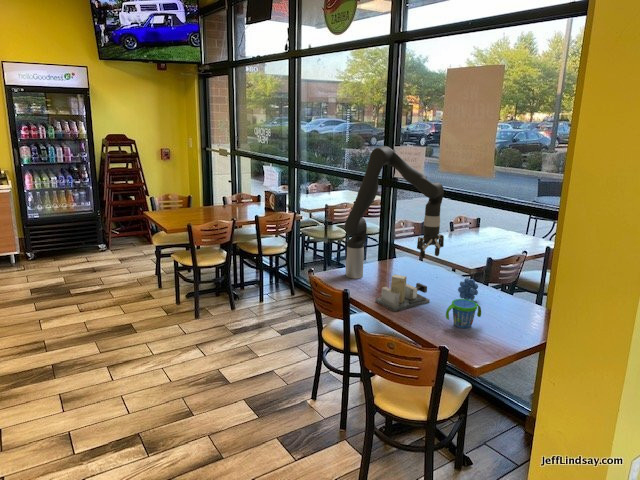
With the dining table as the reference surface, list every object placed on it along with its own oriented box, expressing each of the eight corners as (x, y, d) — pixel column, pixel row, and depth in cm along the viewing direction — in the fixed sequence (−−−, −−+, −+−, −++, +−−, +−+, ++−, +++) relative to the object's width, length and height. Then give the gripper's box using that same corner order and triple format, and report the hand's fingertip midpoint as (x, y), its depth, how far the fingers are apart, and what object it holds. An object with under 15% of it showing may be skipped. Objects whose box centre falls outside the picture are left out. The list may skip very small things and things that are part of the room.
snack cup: (449, 331, 202) (451, 308, 199) (440, 320, 212) (442, 299, 209) (485, 330, 203) (487, 307, 201) (474, 319, 214) (477, 298, 211)
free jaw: (398, 294, 237) (399, 283, 235) (415, 290, 242) (416, 279, 241) (412, 301, 228) (413, 289, 227) (429, 296, 234) (430, 285, 233)
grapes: (462, 305, 228) (464, 282, 225) (454, 300, 235) (456, 277, 231) (482, 302, 232) (485, 279, 229) (473, 297, 239) (476, 274, 235)
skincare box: (389, 300, 230) (391, 276, 226) (392, 297, 233) (394, 273, 230) (402, 303, 227) (403, 278, 224) (405, 300, 230) (406, 276, 227)
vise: (375, 301, 232) (376, 286, 230) (409, 293, 244) (410, 279, 242) (394, 311, 221) (395, 296, 219) (429, 302, 232) (430, 287, 230)
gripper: (424, 227, 224) (422, 260, 228) (448, 224, 230) (446, 257, 234) (414, 224, 231) (413, 256, 235) (438, 221, 237) (436, 253, 241)
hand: (429, 256), depth 235 cm, fingers open, 8 cm apart
